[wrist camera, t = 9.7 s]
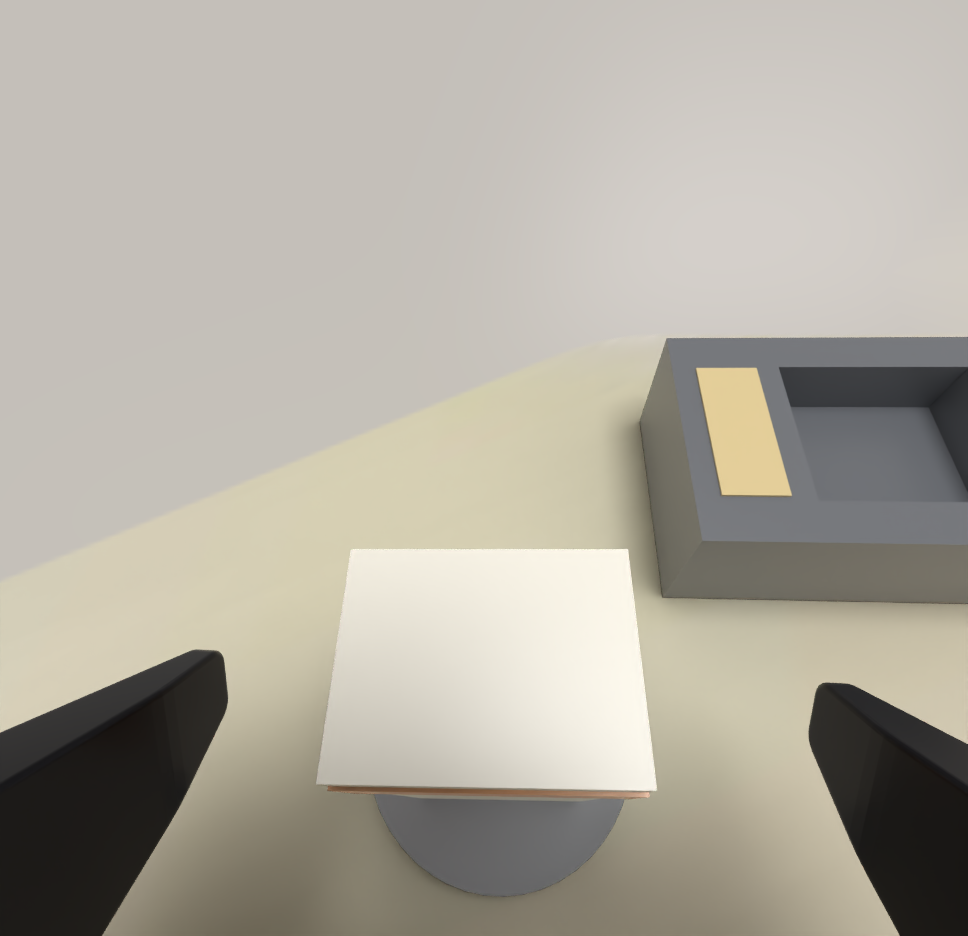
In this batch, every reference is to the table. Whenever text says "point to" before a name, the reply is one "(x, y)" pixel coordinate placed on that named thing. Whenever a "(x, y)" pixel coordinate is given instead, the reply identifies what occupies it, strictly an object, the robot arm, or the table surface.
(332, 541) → the table surface
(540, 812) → the coaster
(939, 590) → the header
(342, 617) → the plug
